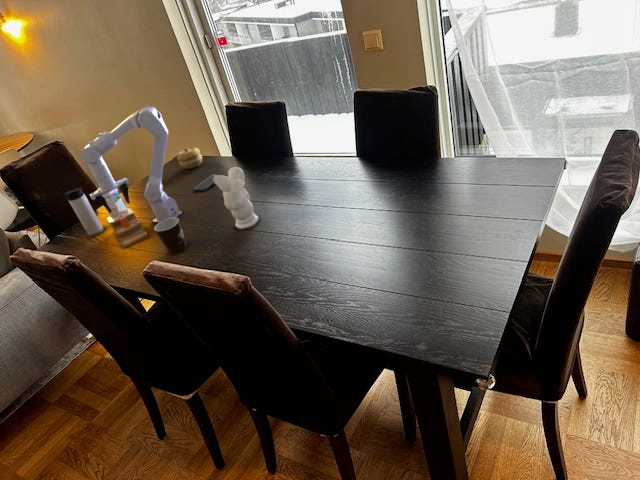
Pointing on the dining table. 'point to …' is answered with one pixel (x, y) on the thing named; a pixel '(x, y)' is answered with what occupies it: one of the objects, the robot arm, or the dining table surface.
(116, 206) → the syrup box
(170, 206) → the robot arm
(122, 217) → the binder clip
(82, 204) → the travel mug
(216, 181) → the cherub figurine
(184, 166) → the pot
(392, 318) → the dining table surface
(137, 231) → the step shelf
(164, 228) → the coffee mug
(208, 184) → the cell phone
